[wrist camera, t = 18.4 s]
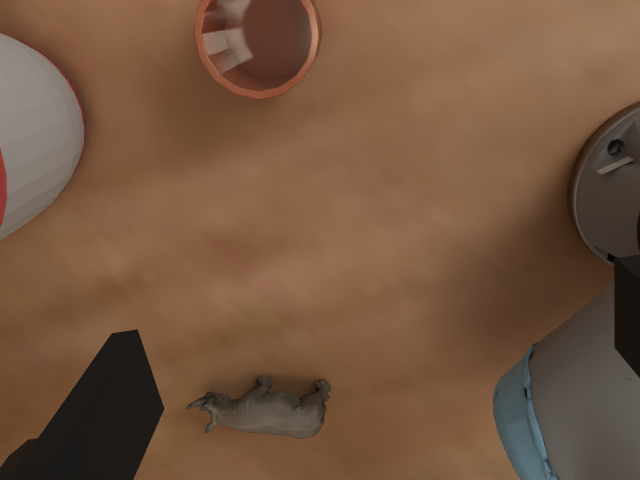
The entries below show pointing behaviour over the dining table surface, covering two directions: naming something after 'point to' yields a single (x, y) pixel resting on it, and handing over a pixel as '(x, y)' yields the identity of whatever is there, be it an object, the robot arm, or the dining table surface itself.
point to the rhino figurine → (268, 410)
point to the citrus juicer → (35, 133)
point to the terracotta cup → (258, 43)
